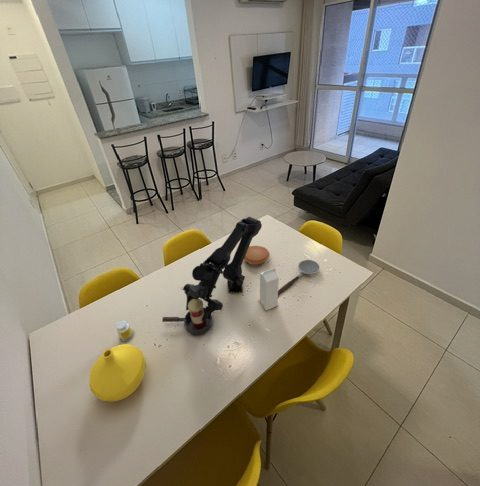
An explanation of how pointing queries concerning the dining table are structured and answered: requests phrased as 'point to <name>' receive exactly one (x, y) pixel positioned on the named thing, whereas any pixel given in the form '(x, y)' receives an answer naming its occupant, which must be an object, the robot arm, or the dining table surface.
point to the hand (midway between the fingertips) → (194, 315)
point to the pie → (256, 255)
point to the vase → (117, 373)
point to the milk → (269, 288)
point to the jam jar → (196, 313)
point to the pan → (193, 330)
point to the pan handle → (172, 319)
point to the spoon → (302, 272)
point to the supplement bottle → (124, 330)
